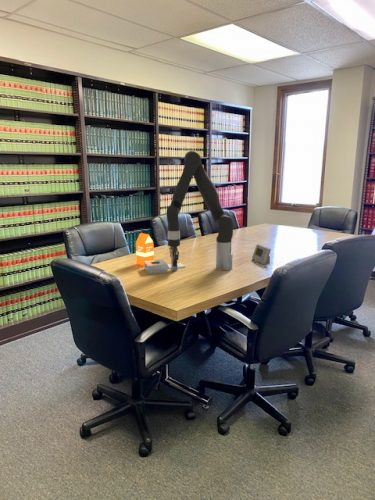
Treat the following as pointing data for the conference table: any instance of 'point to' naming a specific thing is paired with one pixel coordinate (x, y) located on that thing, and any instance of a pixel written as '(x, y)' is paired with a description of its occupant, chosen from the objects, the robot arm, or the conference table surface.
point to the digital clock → (261, 254)
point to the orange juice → (144, 249)
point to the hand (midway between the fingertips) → (174, 265)
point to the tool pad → (179, 265)
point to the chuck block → (155, 266)
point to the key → (172, 263)
